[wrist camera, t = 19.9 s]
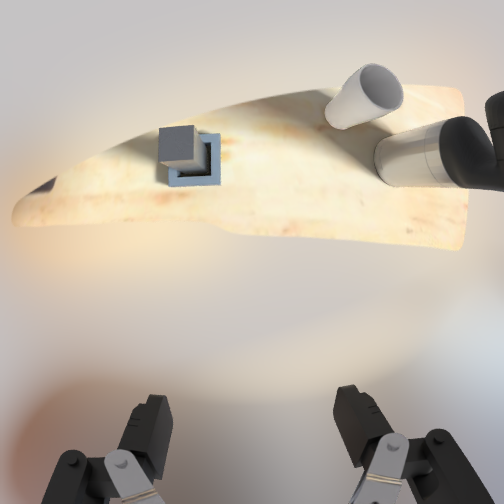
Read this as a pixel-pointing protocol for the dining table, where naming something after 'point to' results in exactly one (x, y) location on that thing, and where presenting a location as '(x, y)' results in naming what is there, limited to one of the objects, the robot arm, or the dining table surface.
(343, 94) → the drinking glass
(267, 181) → the dining table surface
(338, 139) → the dining table surface
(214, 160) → the socket block
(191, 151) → the square bit
